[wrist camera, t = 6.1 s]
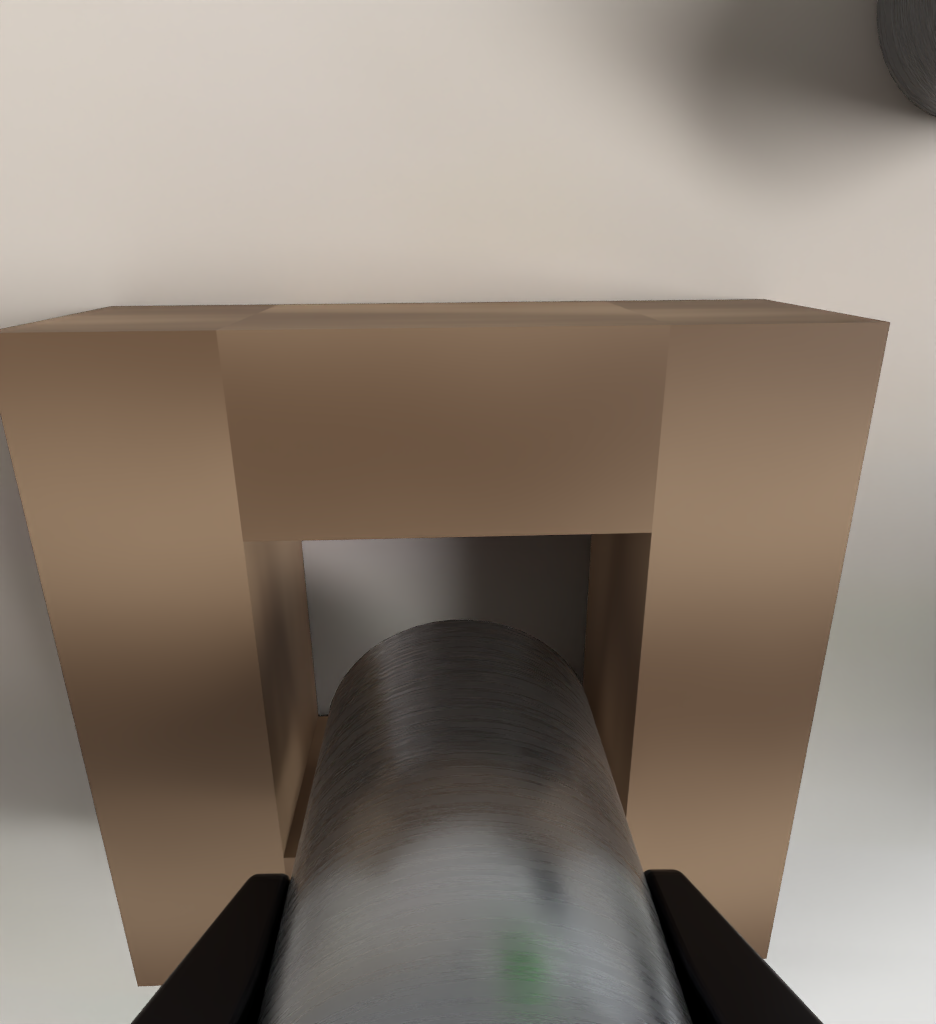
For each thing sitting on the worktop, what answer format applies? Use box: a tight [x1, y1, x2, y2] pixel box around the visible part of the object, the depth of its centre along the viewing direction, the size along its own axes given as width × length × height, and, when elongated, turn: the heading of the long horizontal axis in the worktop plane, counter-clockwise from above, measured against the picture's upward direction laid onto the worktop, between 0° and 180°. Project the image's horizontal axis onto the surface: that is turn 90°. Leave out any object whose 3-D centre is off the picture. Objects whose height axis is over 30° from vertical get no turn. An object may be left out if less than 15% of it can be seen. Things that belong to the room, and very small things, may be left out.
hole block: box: [0, 299, 890, 986], centre depth 14 cm, size 12×12×4 cm
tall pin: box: [257, 620, 693, 1024], centre depth 7 cm, size 4×4×8 cm
